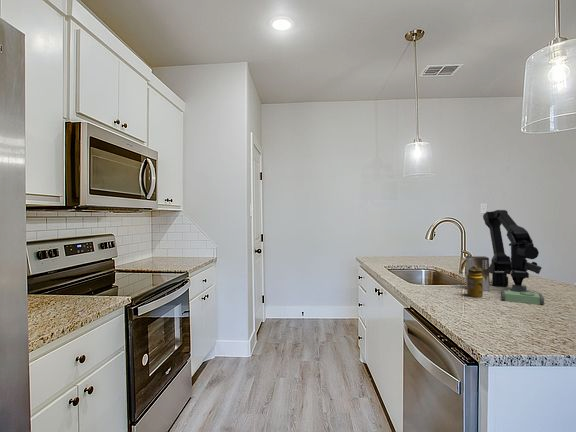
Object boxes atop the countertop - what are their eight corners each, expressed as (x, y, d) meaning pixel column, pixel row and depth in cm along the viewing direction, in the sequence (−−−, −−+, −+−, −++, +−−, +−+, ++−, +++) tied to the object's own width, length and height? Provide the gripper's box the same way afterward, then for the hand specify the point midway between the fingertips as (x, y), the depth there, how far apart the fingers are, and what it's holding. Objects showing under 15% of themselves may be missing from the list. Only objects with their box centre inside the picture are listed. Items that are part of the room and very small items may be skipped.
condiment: (487, 298, 146) (487, 271, 146) (469, 298, 144) (469, 271, 144) (475, 294, 153) (475, 268, 153) (459, 294, 152) (458, 268, 152)
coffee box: (486, 288, 164) (485, 256, 164) (489, 291, 158) (489, 257, 158) (465, 287, 167) (465, 255, 167) (468, 290, 161) (468, 257, 161)
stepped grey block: (512, 296, 149) (512, 286, 149) (512, 293, 154) (511, 283, 154) (526, 297, 146) (526, 287, 146) (525, 294, 151) (525, 284, 151)
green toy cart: (501, 300, 140) (501, 292, 140) (500, 294, 151) (500, 286, 151) (544, 305, 133) (543, 296, 133) (539, 298, 144) (539, 290, 144)
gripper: (543, 259, 141) (543, 296, 141) (537, 255, 157) (537, 287, 157) (511, 258, 147) (512, 293, 147) (509, 254, 163) (509, 285, 163)
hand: (518, 289), depth 153 cm, fingers closed
